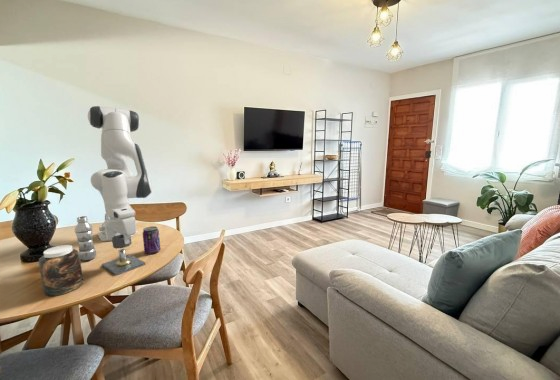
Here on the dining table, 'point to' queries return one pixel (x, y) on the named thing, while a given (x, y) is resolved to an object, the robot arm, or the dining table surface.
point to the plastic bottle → (85, 239)
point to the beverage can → (151, 240)
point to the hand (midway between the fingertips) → (122, 241)
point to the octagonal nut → (120, 241)
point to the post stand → (123, 263)
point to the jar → (60, 270)
